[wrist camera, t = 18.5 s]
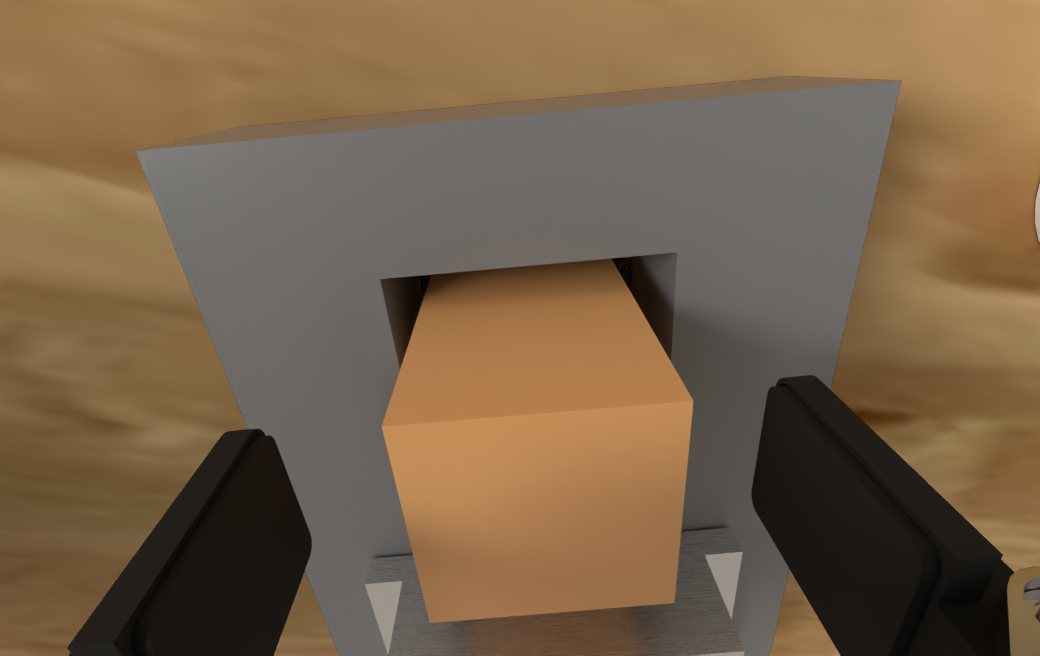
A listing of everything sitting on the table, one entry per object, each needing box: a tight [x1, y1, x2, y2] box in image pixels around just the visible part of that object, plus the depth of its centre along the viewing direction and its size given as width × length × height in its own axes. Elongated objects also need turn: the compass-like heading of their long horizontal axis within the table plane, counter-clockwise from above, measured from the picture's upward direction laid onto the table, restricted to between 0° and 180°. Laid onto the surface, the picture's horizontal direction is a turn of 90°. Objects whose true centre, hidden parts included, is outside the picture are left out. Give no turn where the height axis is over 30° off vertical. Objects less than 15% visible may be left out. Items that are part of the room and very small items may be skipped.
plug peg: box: [382, 258, 693, 623], centre depth 12 cm, size 5×5×8 cm
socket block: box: [136, 76, 901, 656], centre depth 16 cm, size 14×20×4 cm
